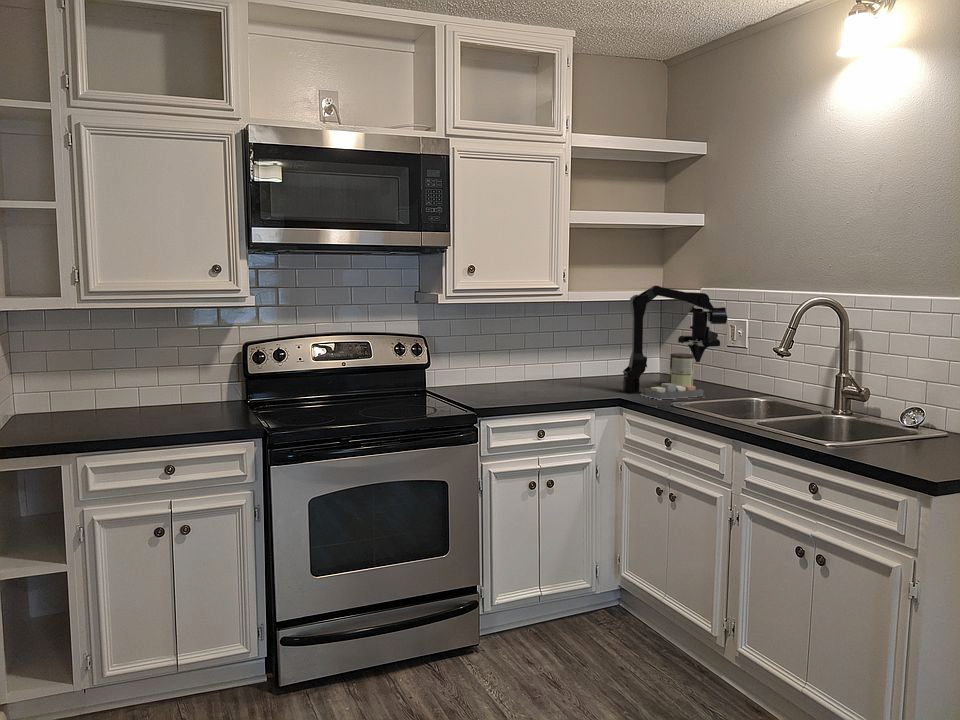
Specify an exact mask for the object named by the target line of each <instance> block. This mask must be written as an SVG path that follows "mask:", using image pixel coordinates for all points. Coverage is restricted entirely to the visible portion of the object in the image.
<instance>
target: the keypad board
mask: <svg viewBox="0 0 960 720" xmlns="http://www.w3.org/2000/svg"><path fill="white" fill-rule="evenodd" d="M640 395H641V396H640ZM703 395H704V389H700V388H697V387H696V388H695V390H688V389H686V391H680V390H676V391H674V392H671V391H667V390H665V392H658V391H654V390H651V387H648V388H647V387H645V388H642V393H639V396H640V397H643V396H645V397H644V398H647V397H649V398H648V399H651V398H654V399H653V400H655V399H657V400H656V401H663V400H662V399H673V400H677V399H676V398H688V397H697V396H703ZM688 399H689V398H688Z"/></svg>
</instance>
